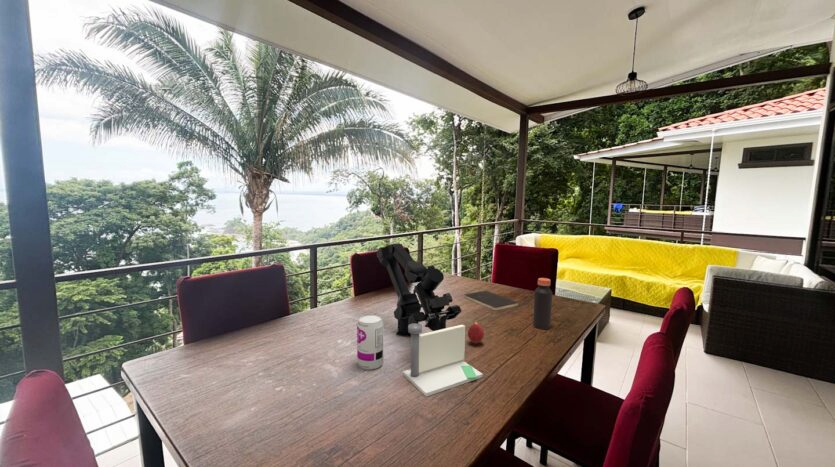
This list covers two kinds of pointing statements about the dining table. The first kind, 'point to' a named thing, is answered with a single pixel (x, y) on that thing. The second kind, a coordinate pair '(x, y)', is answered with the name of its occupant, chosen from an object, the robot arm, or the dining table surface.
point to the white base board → (443, 377)
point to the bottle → (542, 304)
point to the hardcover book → (491, 300)
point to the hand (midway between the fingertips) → (445, 339)
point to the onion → (475, 333)
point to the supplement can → (370, 342)
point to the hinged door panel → (435, 347)
